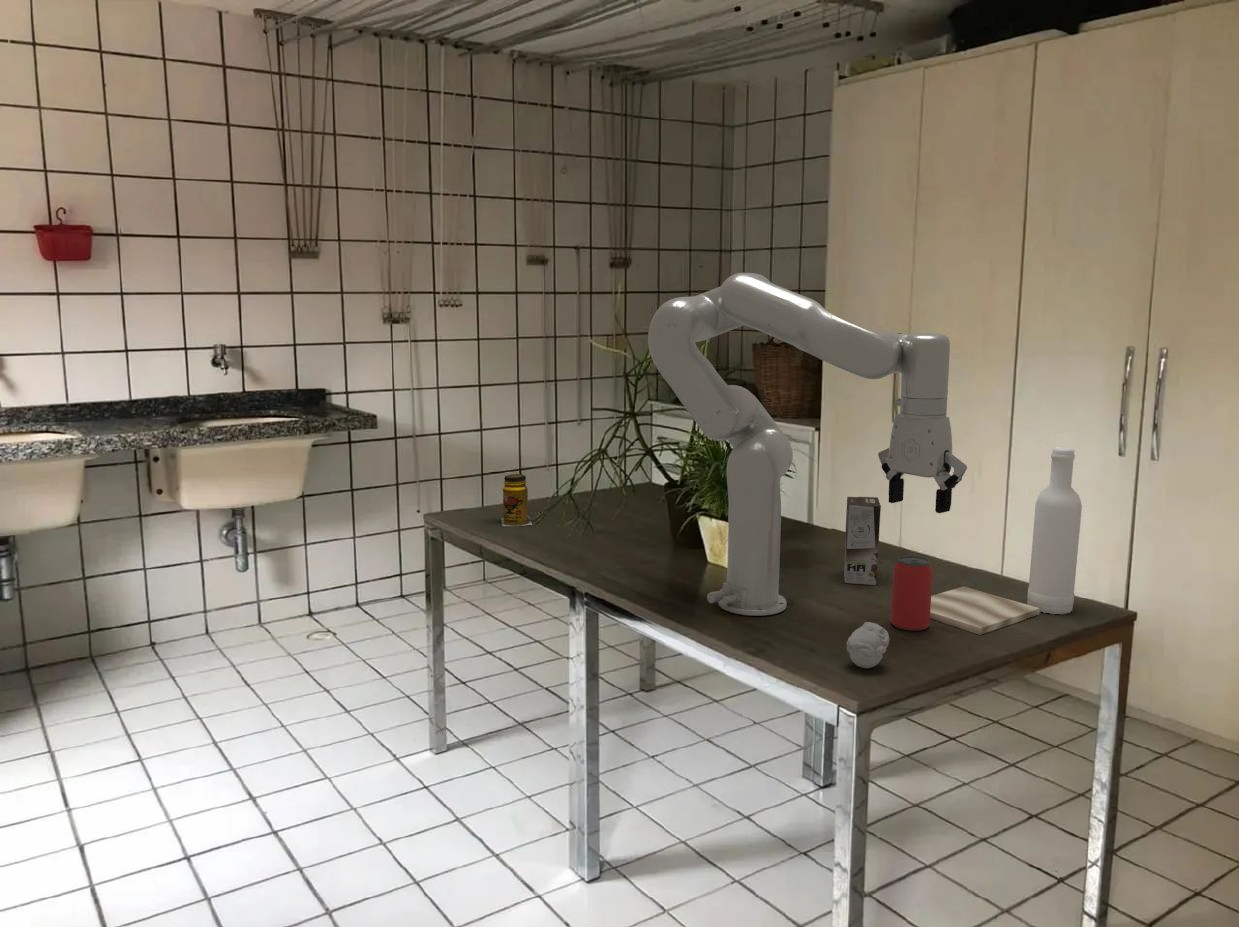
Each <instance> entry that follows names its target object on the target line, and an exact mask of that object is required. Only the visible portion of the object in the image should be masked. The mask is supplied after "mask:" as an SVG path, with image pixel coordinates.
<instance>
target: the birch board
mask: <svg viewBox="0 0 1239 927" xmlns="http://www.w3.org/2000/svg"><path fill="white" fill-rule="evenodd" d="M1040 613H1041V612H1040V608H1037V607H1034V606H1030V605H1027V603H1022V602H1019V601H1016V600H1012V599H1009V598H1005V597H1002V596H998V595H995V594H991V593H987V592H984V591H981V590H979V589H978V590H977V589H974V588H972V587H968V586H964V585H963V586H961V587H957V588H954V589H949V590H947V591H943V592H941V593H940V592H939V593H937V594H933V595H932V594H931V609H930V620H933V621H936V622H940V623H943V624H945V625H948V626H952V627H955V628H957V629H961V630H964V631H967V632H970V633H973V634H976V635H980V636H981V635H983V634H988V633H990V632H993V631H995V630H998V629H1001V628H1004V627H1008V626H1010V625H1013V624H1016V623H1019V622H1022V621H1025V620H1028V619H1031V618H1034V617H1037V616H1039V615H1040ZM1036 615H1037V616H1036ZM1033 616H1034V617H1033ZM1030 617H1031V618H1030ZM1027 618H1028V619H1027Z"/></svg>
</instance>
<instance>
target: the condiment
mask: <svg viewBox="0 0 1239 927" xmlns="http://www.w3.org/2000/svg"><path fill="white" fill-rule="evenodd" d="M503 479H504V483H503V484H504V486H503V487H502V494H503V495H502V496H503V498H502V499H503V500H502V506H503V507H502V508H503V517H502V518H501V517H500V521H501V526H502V527H520V526H521V527H523V526H532V525H533V523H532V520H531V516H529V501H528V499H529V498H528V497H529V495H528V494H529V493H528V492H529V491H528V486H527V482H526V481H527V480H526V475H525V474H521V473H514V474H513V473H511V474H507V475H504V478H503Z"/></svg>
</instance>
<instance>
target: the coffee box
mask: <svg viewBox="0 0 1239 927" xmlns="http://www.w3.org/2000/svg"><path fill="white" fill-rule="evenodd" d="M881 510H882V505H881V503H880V500H879V497H878V496H877V497H876V496H847V498H846V510H845V511H846V515H845V516H846V518H845V535H844V536H845V539H844V540H845V541H844V557H843V558H844V562H843V563H844V564H843V565H844V566H843V575H844V583H845V584H852V585H853V584H856V585H867V586H868V585H869V586H876V585H877V576H878V562H879V560H878V559H879V542H880V526H881Z"/></svg>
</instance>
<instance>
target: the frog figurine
mask: <svg viewBox="0 0 1239 927" xmlns="http://www.w3.org/2000/svg"><path fill="white" fill-rule="evenodd" d="M889 644H890V636H889V633H888V630H886V629H885V628H884V627H883V626H881V625H879V624H878V623H874V622H870V621H866V622H864V623H863V625H861V626H860V627H858V628H856V629H855V630H854V631H853V632H851V634H850V636H849V637H848V639H847V641H846V651H847V652H848V653H849V657H850V660H851V661H852V663H854V664H855V665H856V666H857V667H859V668H861V669H870V668H874V667H875V666H877V665H878V664H879V663H880V661H882V659H883V654H885V653H887V652H886V651H887V648H888V646H889Z"/></svg>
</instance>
